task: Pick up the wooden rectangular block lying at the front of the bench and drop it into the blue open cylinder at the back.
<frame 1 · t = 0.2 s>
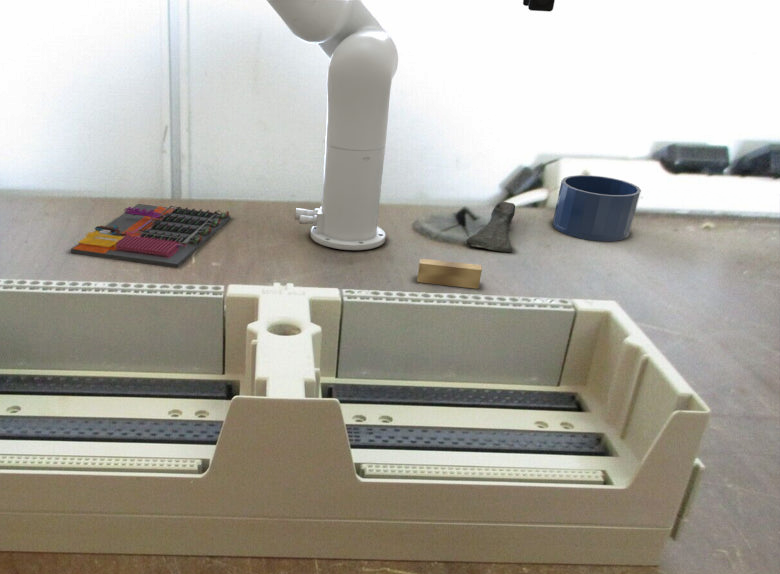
hand: (536, 8, 107), 36 cm above the table, tool pointing down, fingers open, 9 cm apart
tool: (501, 234, 135), on the table
blue open cylinder: (590, 228, 139), on the table
wooden rectangular block: (447, 283, 114), on the table
circuit board: (156, 235, 127), on the table
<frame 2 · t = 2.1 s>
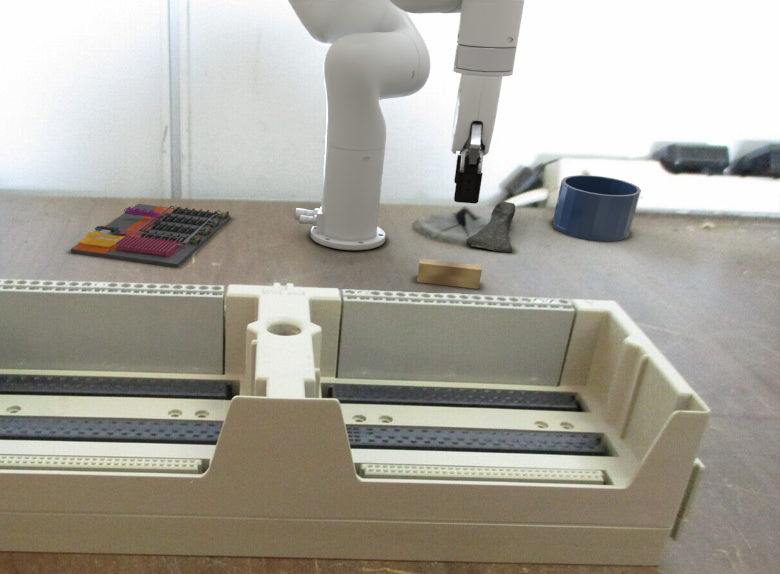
hand: (465, 192, 107), 14 cm above the table, tool pointing down, fingers open, 9 cm apart
nothing on the table moved.
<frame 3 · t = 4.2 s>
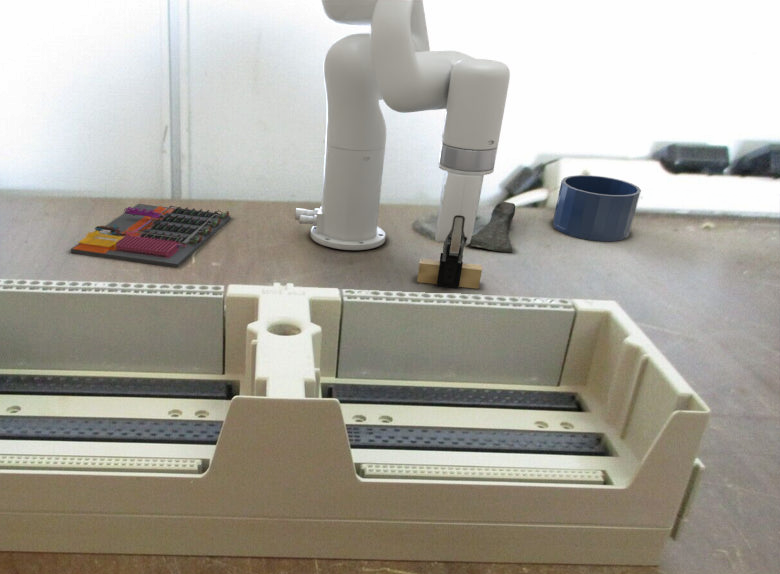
hand: (447, 282, 114), 0 cm above the table, tool pointing down, fingers closed on wooden rectangular block, 2 cm apart
wooden rectangular block: (447, 283, 114), on the table, touching gripper
everything else where it was.
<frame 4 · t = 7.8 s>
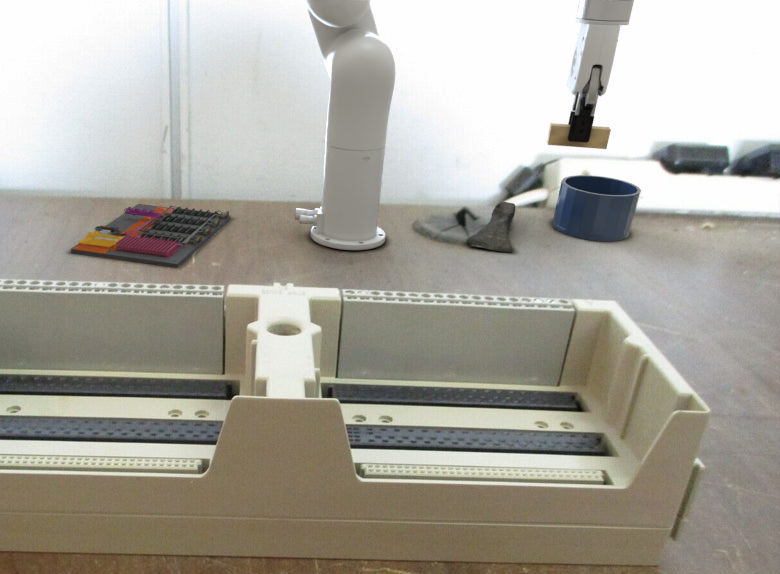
hand: (577, 138, 122), 18 cm above the table, tool pointing down, fingers closed on wooden rectangular block
wooden rectangular block: (576, 145, 123), point 16 cm above the table, touching gripper
everything else where it was.
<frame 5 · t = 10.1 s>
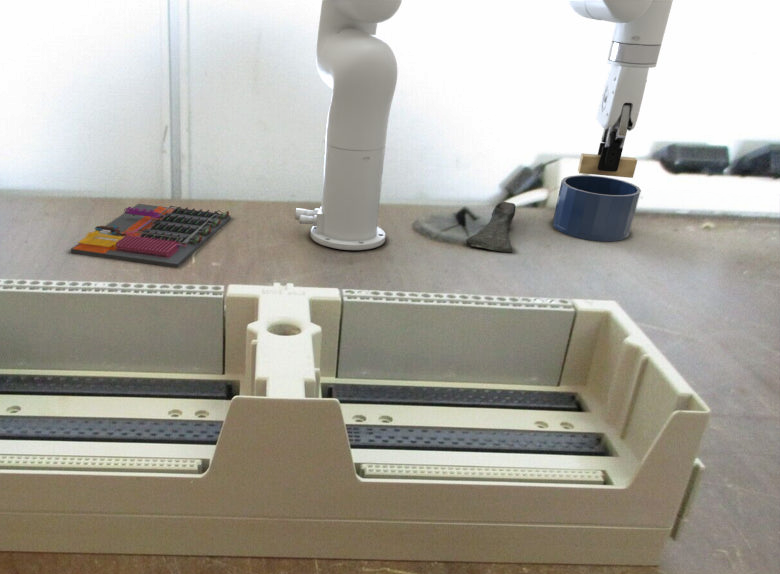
hand: (606, 167, 133), 11 cm above the table, tool pointing down, fingers closed on wooden rectangular block
wooden rectangular block: (604, 174, 134), point 10 cm above the table, touching gripper
everything else where it was.
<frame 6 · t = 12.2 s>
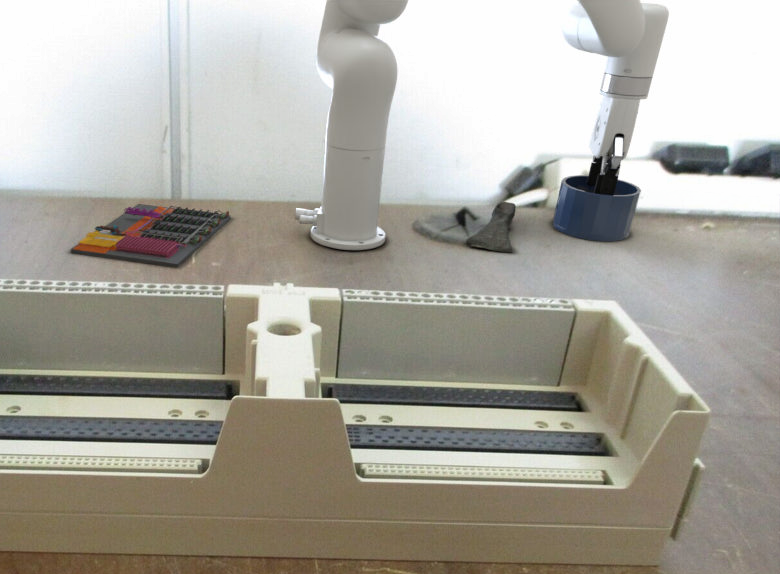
hand: (599, 191, 135), 7 cm above the table, tool pointing down, fingers open, 7 cm apart
blue open cylinder: (590, 228, 139), on the table, touching wooden rectangular block
wooden rectangular block: (591, 224, 139), point 1 cm above the table, touching blue open cylinder
everything else where it was.
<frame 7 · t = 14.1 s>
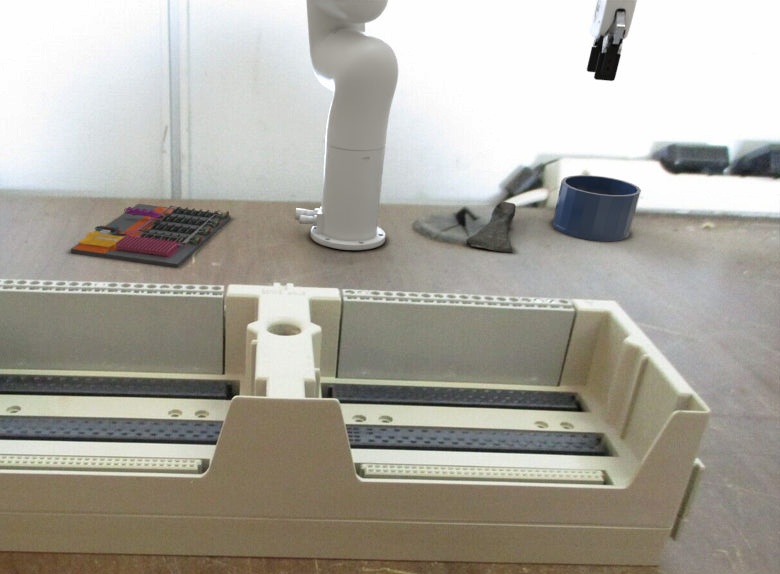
hand: (599, 75, 129), 25 cm above the table, tool pointing down, fingers open, 9 cm apart
nothing on the table moved.
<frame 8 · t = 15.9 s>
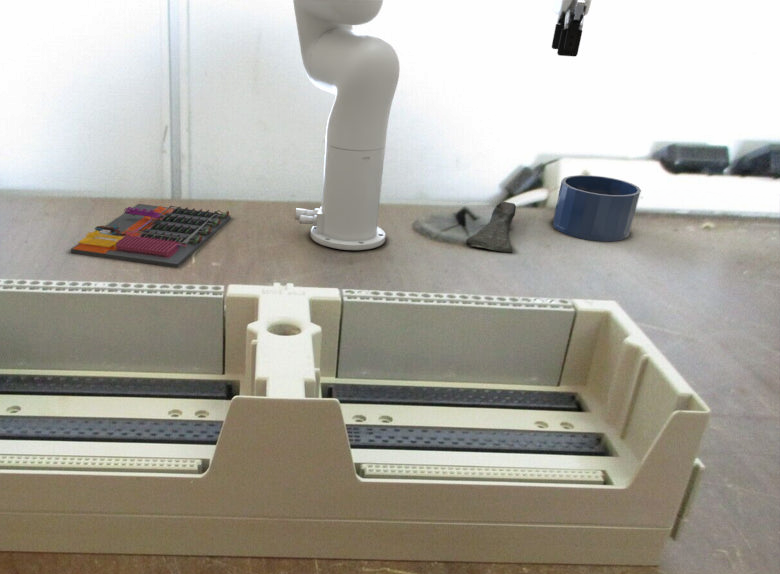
hand: (563, 52, 132), 28 cm above the table, tool pointing down, fingers open, 9 cm apart
nothing on the table moved.
at the end: wooden rectangular block inside the target area in the blue open cylinder (0.0 cm from its centre), point 0.8 cm above the blue open cylinder's base; blue open cylinder tilted 0° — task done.
